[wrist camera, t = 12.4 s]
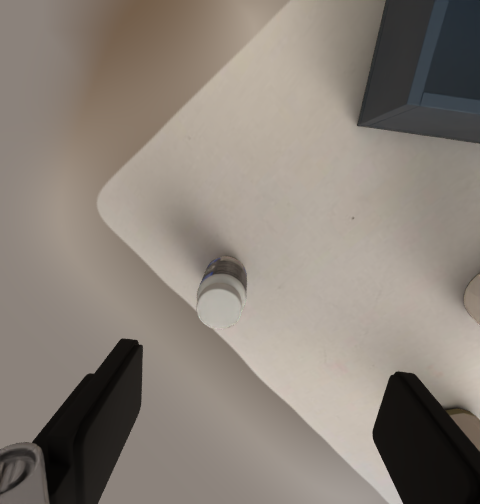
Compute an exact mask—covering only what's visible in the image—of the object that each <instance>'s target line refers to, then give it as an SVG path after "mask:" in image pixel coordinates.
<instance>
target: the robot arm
mask: <svg viewBox="0 0 480 504" xmlns="http://www.w3.org/2000/svg"><path fill="white" fill-rule="evenodd" d="M142 357H143V346H142V345H139V344H138V341H137V340H132V339H121V340H120V341H119V342H118V343H117V345H116V346H115V347H114V349H113V350H112V351H111V353H110V354H109V355H108V356H107V358H106V359H105V360H104V362H103V363H102V364H101V366H100V367H99V368H98V370H97V371H96V372H95V373H94V374H87V375H86V376H85V377H84V379H83V380H82V381H81V382H80V383H79V385H78V386H77V387H76V388H75V389H74V391H73V392H72V393H71V394H70V396H69V397H68V398H67V399H66V401H65V402H64V403H63V405H62V406H61V407H60V408H59V409H58V411H57V412H56V413H55V414H54V416H53V417H52V418H51V419H50V421H49V422H48V423H47V424H46V426H45V427H44V428H43V429H42V431H41V432H40V433H39V434H38V436H37V437H36V438H35V439H34V440H33V442H32V443H29V442H24V443H16V444H13V445H9V446H6V447H4V448H2V449H0V504H98V502H99V500H100V498H101V495H102V493H103V491H104V489H105V487H106V484H107V482H108V480H109V478H110V475H111V473H112V471H113V469H114V467H115V465H116V462H117V460H118V458H119V456H120V453H121V451H122V449H123V447H124V445H125V443H126V440H127V438H128V436H129V434H130V432H131V429H132V427H133V425H134V423H135V421H136V418H137V416H138V414H139V411H140V407H141V394H142V393H141V391H142ZM373 440H374V443H375V445H376V447H377V449H378V451H379V453H380V455H381V458H382V460H383V462H384V464H385V466H386V468H387V470H388V472H389V475H390V477H391V479H392V481H393V483H394V485H395V487H396V489H397V491H398V494H399V496H400V498H401V500H402V502H403V504H480V451H479V450H478V449H477V448H476V447H475V445H474V444H473V443H472V442H471V441H470V439H469V438H468V437H467V436H466V435H465V433H464V432H463V431H462V430H461V429H460V427H459V426H458V425H457V424H456V423H455V421H454V420H453V419H452V418H451V417H450V415H449V414H448V413H447V412H446V411H445V409H444V408H443V407H442V406H441V405H440V403H439V402H438V401H437V400H436V399H435V397H434V396H433V395H432V394H431V393H430V392H429V390H428V389H427V388H426V387H425V386H424V384H423V383H422V382H421V381H420V380H419V378H418V377H417V376H416V375H415V374H413V373H407V372H395V373H394V375H391V376H390V378H389V381H388V384H387V387H386V390H385V393H384V396H383V400H382V403H381V406H380V409H379V412H378V415H377V418H376V422H375V425H374V428H373Z"/></svg>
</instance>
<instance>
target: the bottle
mask: <svg viewBox="0 0 480 504" xmlns="http://www.w3.org/2000/svg"><path fill="white" fill-rule="evenodd" d="M445 411H446V412H447V413H448V414H449V415H450V417H451V418H452V419H453V420H454V421H455V423H456V424H457V425H458V426H459V427H460V429H461V430H462V431H463V432H464V433H465V435H466V436H467V437H468V438H469V439H470V441H471V442H472V443H473V444H474V445H475V447H476V448H477V449H478V450H479V451H480V420H479V419H478V418H477V417H476V416H475V415H474V414H472V413H471V412H470V411H466V410H462V409H459V408H458V409H451V410H445Z"/></svg>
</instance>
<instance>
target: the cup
mask: <svg viewBox="0 0 480 504" xmlns="http://www.w3.org/2000/svg"><path fill="white" fill-rule="evenodd" d="M464 305H465V308H466V310H467V312H468V313H469V314H470V315H471V316H472V318H473V319H474V320H475V321H476V322H477V323H478V324H479V325H480V274H478V275H477V276H476V277H475V278H474V279H473V280H472V281H471V282H470V283H469V285H468V286H467V288H466V290H465V294H464Z"/></svg>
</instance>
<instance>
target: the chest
mask: <svg viewBox="0 0 480 504" xmlns="http://www.w3.org/2000/svg"><path fill="white" fill-rule="evenodd" d="M357 125H358V126H363V127H370V128H377V129H384V130H391V131H398V132H405V133H412V134H418V135H425V136H432V137H439V138H446V139H453V140H460V141H467V142H474V143H480V0H386V3H385V8H384V12H383V16H382V20H381V25H380V29H379V33H378V38H377V42H376V46H375V51H374V55H373V59H372V64H371V68H370V72H369V77H368V81H367V85H366V90H365V94H364V98H363V102H362V107H361V111H360V115H359V120H358V124H357Z"/></svg>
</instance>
